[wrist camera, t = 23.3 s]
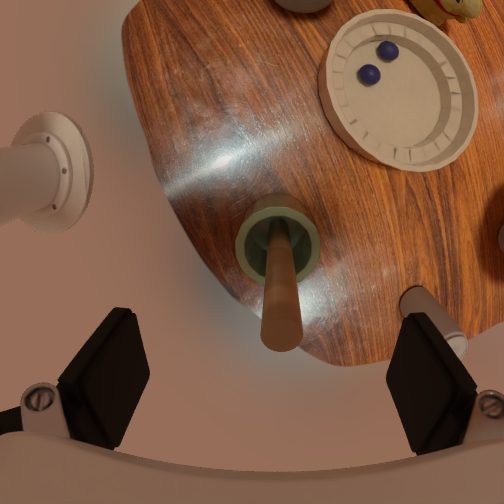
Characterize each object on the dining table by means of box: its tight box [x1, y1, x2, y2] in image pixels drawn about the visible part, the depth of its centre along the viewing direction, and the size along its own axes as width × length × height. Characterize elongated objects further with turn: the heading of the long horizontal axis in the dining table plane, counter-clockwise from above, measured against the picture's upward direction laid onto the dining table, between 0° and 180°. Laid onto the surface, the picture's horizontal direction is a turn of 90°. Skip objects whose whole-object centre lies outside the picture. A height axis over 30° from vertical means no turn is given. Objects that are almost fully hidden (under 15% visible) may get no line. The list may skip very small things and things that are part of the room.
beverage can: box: [400, 287, 468, 361], centre depth 31 cm, size 5×5×12 cm
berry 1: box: [359, 64, 381, 85], centre depth 26 cm, size 2×2×2 cm
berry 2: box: [378, 41, 399, 61], centre depth 25 cm, size 2×2×2 cm
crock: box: [235, 192, 321, 285], centre depth 31 cm, size 8×8×8 cm
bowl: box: [318, 9, 478, 172], centre depth 25 cm, size 17×17×6 cm
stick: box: [261, 219, 303, 352], centre depth 24 cm, size 2×2×20 cm
